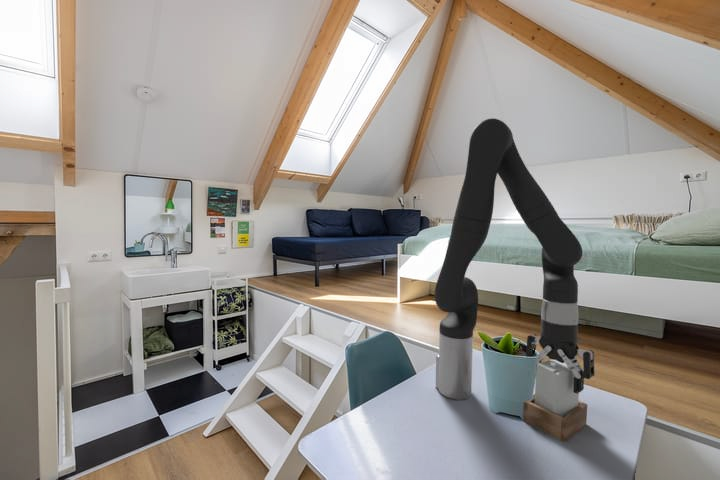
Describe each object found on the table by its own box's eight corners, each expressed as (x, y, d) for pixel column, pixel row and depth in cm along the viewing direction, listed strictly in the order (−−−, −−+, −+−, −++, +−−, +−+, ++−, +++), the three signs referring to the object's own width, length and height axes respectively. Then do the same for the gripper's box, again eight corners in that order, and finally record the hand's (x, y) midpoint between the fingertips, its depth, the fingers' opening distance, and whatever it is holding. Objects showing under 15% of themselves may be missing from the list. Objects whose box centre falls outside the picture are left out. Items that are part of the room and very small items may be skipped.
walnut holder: (522, 420, 78) (523, 401, 77) (545, 405, 84) (546, 387, 84) (565, 442, 70) (566, 421, 69) (586, 424, 76) (587, 404, 76)
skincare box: (555, 411, 81) (557, 356, 80) (579, 426, 76) (582, 366, 75) (532, 419, 78) (534, 361, 77) (555, 435, 72) (558, 372, 71)
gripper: (521, 314, 79) (520, 376, 80) (586, 329, 67) (584, 403, 68) (536, 309, 83) (535, 369, 84) (600, 323, 71) (598, 392, 72)
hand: (557, 384), depth 76 cm, fingers open, 8 cm apart
